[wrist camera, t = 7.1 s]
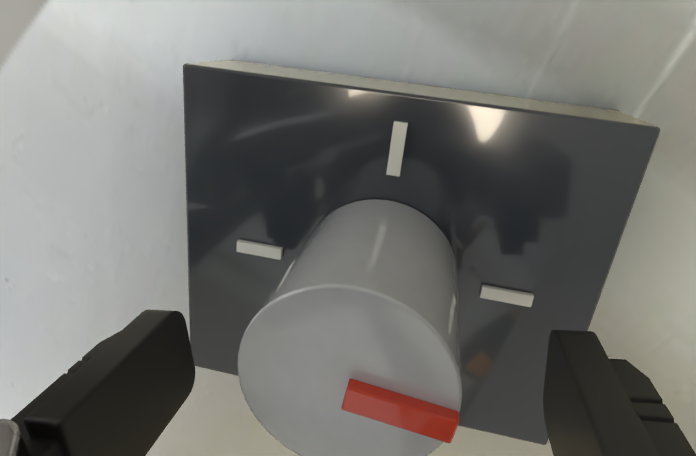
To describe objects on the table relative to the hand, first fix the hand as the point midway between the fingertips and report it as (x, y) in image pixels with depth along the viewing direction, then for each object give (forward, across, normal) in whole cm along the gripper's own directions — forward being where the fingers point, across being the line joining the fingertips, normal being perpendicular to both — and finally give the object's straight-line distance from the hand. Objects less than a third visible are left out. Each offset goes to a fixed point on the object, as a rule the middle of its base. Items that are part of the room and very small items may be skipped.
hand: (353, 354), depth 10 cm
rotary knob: (+4, 0, 0) cm, 4 cm away
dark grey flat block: (+7, 0, 0) cm, 7 cm away
